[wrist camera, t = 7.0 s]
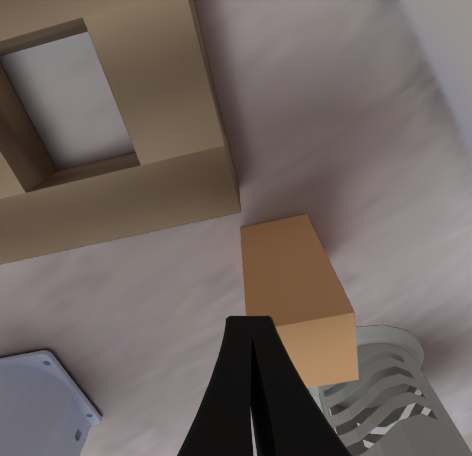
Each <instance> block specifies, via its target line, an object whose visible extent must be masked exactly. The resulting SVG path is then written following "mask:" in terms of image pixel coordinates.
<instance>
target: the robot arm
mask: <svg viewBox="0 0 472 456" xmlns="http://www.w3.org/2000/svg"><path fill="white" fill-rule="evenodd" d="M250 406H251V409H250ZM251 413H252V421H253V428H254V435H255V443H256V450H257V456H352V455H351V454H350V452H349V451H348V449H347V448H346V447H345V445H344V444H343V442H342V441H341V440H340V438H339V437H338V435H337V434H336V433H335V431H334V430H333V428H332V427H331V425H330V424H329V422H328V421H327V419H326V418H325V416H324V415H323V413H322V412H321V410H320V408H319V407H318V405H317V404H316V402H315V401H314V399H313V397H312V396H311V394H310V392H309V391H308V389H307V387H306V386H305V384H304V382H303V381H302V379H301V377H300V375H299V373H298V372H297V370H296V368H295V366H294V364H293V363H292V361H291V359H290V357H289V355H288V353H287V351H286V349H285V347H284V345H283V343H282V341H281V339H280V336H279V334H278V332H277V329H276V327H275V324H274V322H273V319H272V318H271V317H270V316H229V317H228V318H227V319H226V326H225V332H224V337H223V341H222V345H221V349H220V352H219V356H218V359H217V362H216V365H215V368H214V371H213V374H212V377H211V380H210V382H209V385H208V387H207V390H206V392H205V395H204V397H203V400H202V402H201V405H200V407H199V410H198V412H197V414H196V417H195V419H194V421H193V423H192V426H191V428H190V430H189V432H188V434H187V436H186V438H185V441H184V443H183V445H182V447H181V449H180V451H179V453H178V455H177V456H253V444H252V431H251ZM101 420H102V418H101V416H100V415H99V413H98V412H97V411H96V410H95V408H94V407H93V406H92V404H91V403H90V402H89V401H88V399H87V398H86V397H85V395H84V394H83V393H82V392H81V390H80V389H79V388H78V386H77V385H76V384H75V383H74V381H73V380H72V379H71V377H70V376H69V375H68V374H67V372H66V371H65V370H64V368H63V367H62V366H61V365H60V363H59V362H58V361H57V359H56V358H55V357H54V356H53V354H52V353H51V352H49V351H46V350H42V351H37V352H32V353H26V354H21V355H16V356H10V357H5V358H0V456H80V453H81V451H82V448H83V445H84V443H85V440H86V437H87V434H88V432H89V429H90V426H93V425H98V424H100V423H101Z"/></svg>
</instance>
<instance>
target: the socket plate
mask: <svg viewBox="0 0 472 456" xmlns="http://www.w3.org/2000/svg"><path fill="white" fill-rule="evenodd" d="M86 31H88V32H89V35H90V37H91V40H92V43H93V45H94V48H95V50H96V53H97V55H98V58H99V60H100V63H101V65H102V68H103V70H104V73H105V76H106V78H107V81H108V83H109V86H110V88H111V91H112V93H113V96H114V98H115V101H116V103H117V106H118V109H119V111H120V114H121V116H122V119H123V121H124V124H125V126H126V129H127V131H128V134H129V136H130V139H131V142H132V144H133V147H134V149H135V152H134V153H130V154H126V155H122V156H118V157H114V158H110V159H105V160H101V161H97V162H93V163H89V164H85V165H81V166H77V167H73V168H69V169H64V170H60V171H57V169H56V167H55V165H54V164H53V162H52V160H51V158H50V156H49V154H48V152H47V150H46V149H45V147H44V145H43V143H42V141H41V139H40V137H39V135H38V134H37V132H36V130H35V128H34V126H33V124H32V122H31V121H30V119H29V117H28V115H27V113H26V111H25V109H24V107H23V106H22V104H21V102H20V100H19V98H18V96H17V94H16V93H15V91H14V89H13V87H12V85H11V83H10V81H9V79H8V78H7V76H6V74H5V72H4V70H3V68H2V66H1V64H0V265H1V264H5V263H10V262H15V261H19V260H24V259H28V258H33V257H38V256H42V255H47V254H51V253H56V252H61V251H65V250H70V249H74V248H79V247H84V246H88V245H93V244H97V243H102V242H107V241H111V240H116V239H120V238H125V237H129V236H134V235H139V234H143V233H148V232H152V231H157V230H162V229H166V228H171V227H175V226H180V225H185V224H189V223H194V222H198V221H203V220H208V219H212V218H217V217H221V216H226V215H231V214H235V213H240V212H241V205H240V193H239V186H238V182H237V178H236V173H235V169H234V165H233V161H232V157H231V153H230V149H229V145H228V140H227V136H226V132H225V128H224V124H223V120H222V116H221V112H220V108H219V103H218V99H217V95H216V91H215V87H214V83H213V79H212V75H211V70H210V66H209V62H208V58H207V54H206V50H205V46H204V42H203V38H202V33H201V29H200V25H199V21H198V17H197V13H196V9H195V5H194V0H0V56H2V55H6V54H9V53H13V52H16V51H20V50H23V49H27V48H30V47H34V46H37V45H41V44H44V43H48V42H51V41H55V40H58V39H62V38H65V37H69V36H72V35H76V34H79V33H83V32H86Z"/></svg>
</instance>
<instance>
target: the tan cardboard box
mask: <svg viewBox="0 0 472 456" xmlns="http://www.w3.org/2000/svg"><path fill="white" fill-rule="evenodd" d="M240 232H241V246H242V261H243V275H244V289H245V304H246V316H270V317H271V318H272V319H273V322H274V324H275V327H276V329H277V332H278V334H279V336H280V339H281V341H282V343H283V345H284V347H285V349H286V351H287V353H288V355H289V357H290V359H291V361H292V363H293V364H294V366H295V368H296V370H297V372H298V373H299V375H300V377H301V379H302V381H303V382H304V384H305V386H306V387H307V388H311V387H317V386H323V385H330V384H336V383H342V382H348V381H354V380H359V374H358V357H357V340H356V323H355V312H354V310H353V308H352V305H351V303H350V301H349V299H348V297H347V295H346V293H345V291H344V289H343V287H342V285H341V283H340V281H339V279H338V277H337V275H336V273H335V271H334V269H333V267H332V265H331V263H330V261H329V259H328V257H327V255H326V252H325V250H324V248H323V246H322V244H321V242H320V240H319V238H318V236H317V234H316V232H315V230H314V228H313V226H312V224H311V222H310V220H309V218H308V216H307V214H303V215H298V216H294V217H289V218H284V219H280V220H275V221H270V222H266V223H261V224H256V225H251V226H247V227H242V228H240Z"/></svg>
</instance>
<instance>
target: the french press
mask: <svg viewBox="0 0 472 456" xmlns="http://www.w3.org/2000/svg"><path fill="white" fill-rule="evenodd" d="M356 340H357V357H358V374H359V380H354V381H348V382H342V383H336V384H330V385H323V386H317V387H311V388H309V390H310V392H311V393H313V394H315V395H317V396H318V397H319V398H320V402H321V406H322V410H323V414H324V416H325V418H326V419H327V421H328V422H329V424H330V425H331V427H332V428H333V427H335V428H336V431H337V435H338V437H339V438H340V440H341V441H342V442H343V444H344V445H345V447H346V448H347V449H348V451H349V452H350V454H351V455H352V456H472V452H471V451H470V449H469V448H468V446H467V444H466V443H465V441H464V439H463V438H462V436H461V434H460V433H459V431H458V429H457V428H456V426H455V424H454V423H453V421H452V420H451V418H450V416H449V415H448V413H447V411H446V410H445V408H444V406H443V405H442V403H441V402H440V400H439V398H438V397H437V395H436V393H435V392H434V390H433V388H432V387H431V385H430V383H429V382H428V380H427V379H426V377H425V375H424V374H423V372H422V370H421V367H422V364H423V361H424V358H425V355H424V351H423V348H422V345H421V342H420V341H419V340H418V339H417V338H415V337H414V336H413V335H411V334H410V333H409V332H408V331H406V330H403V329H399V328H394V327H390V326H386V325H376V326H362V327H356ZM416 389H420V390H421V392H422V394H421V396H419V395H416V394H414V393H415V391H416ZM412 403H416V404H415V406H414V408H413V410H412V412H411V414H410V415H409V417H408V418H406V419H403V420H400V421H398V420H399V418H400V417H401V415H402V413H403V412H404V410H405V408H406V407H407V405H409V404H412ZM424 407H427V408H429V409H431V411H430V413H429V414H428V416H426V415H424V414H420V413H421V412H422V410H423V408H424ZM328 408H330V410H331V414H332V416H330V413H329V410H328ZM396 421H398V422H397V423H396V424H395V425H394V426H393V427H392V428H391V429H390V430H389V431H388V432H387V433H386V434H385V435H380V434H370V432H371V431H372V430H373V429H374V428H375V427H387V426H389V425H390V424H392V423H394V422H396ZM356 422H357V423H360V425H359V426H358V425H357V423H356ZM333 430H334V428H333ZM362 439H363V440H366V441H369V442H372V443H375V444H374V445H373V446H371V447H370V448H367V447H365V446H364V443H363V440H362Z"/></svg>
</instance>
